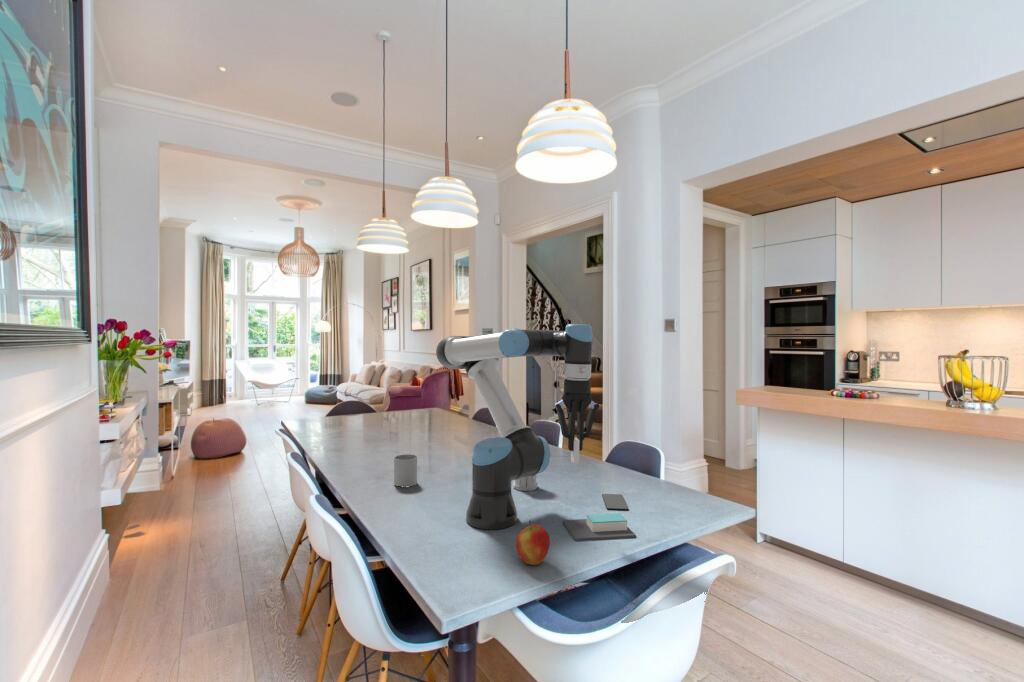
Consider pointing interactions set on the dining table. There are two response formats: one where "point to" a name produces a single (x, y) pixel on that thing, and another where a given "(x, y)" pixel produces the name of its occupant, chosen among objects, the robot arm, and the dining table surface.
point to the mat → (583, 532)
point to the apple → (533, 544)
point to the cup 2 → (525, 483)
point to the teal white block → (606, 522)
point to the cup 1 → (405, 470)
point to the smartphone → (615, 502)
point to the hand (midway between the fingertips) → (574, 461)
